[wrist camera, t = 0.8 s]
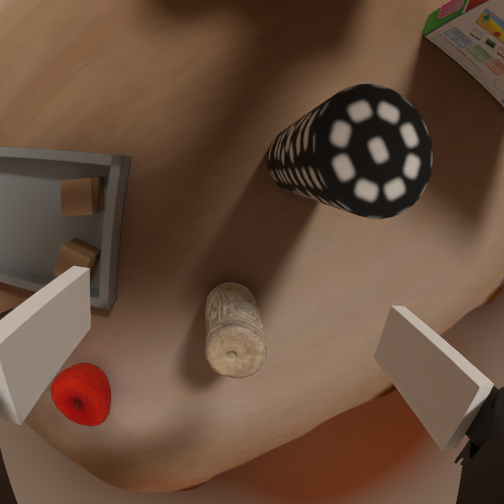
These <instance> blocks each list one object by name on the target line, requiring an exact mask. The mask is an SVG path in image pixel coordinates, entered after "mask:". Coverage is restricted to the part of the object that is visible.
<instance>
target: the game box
mask: <svg viewBox="0 0 504 504" xmlns="http://www.w3.org/2000/svg"><path fill="white" fill-rule="evenodd" d="M423 36H424V37H426V38H427V39H429V40H430V41H431V42H433V43H434V44H435V45H437V46H438V47H439V48H440V49H442V50H443V51H444V52H445V53H446V54H448V55H449V56H450V57H451V58H452V59H454V60H455V61H456V62H457V63H458V64H459V65H461V66H462V67H463V68H464V69H465V70H466V71H467V72H468V73H469V74H471V75H472V76H473V77H474V78H475V79H476V80H477V81H478V82H479V83H480V84H481V85H482V86H483V87H484V88H485V89H486V90H487V91H488V92H489V93H490V94H491V95H492V96H493V97H494V98H495V99H496V100H497V101H498V102H499V103H500V104H501V105H502V106H503V107H504V0H452V1H450V2H448V3H447V4H445V5H444V6H442V7H441V8H439V9H437V10H436V11H434V12H433V13H431V14H430V15H429V18H428V21H427V24H426V26H425V29H424V32H423Z"/></svg>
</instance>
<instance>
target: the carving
mask: <svg viewBox="0 0 504 504" xmlns="http://www.w3.org/2000/svg"><path fill="white" fill-rule="evenodd" d="M205 322H206V335H207V337H206V341H205V355H206V359H207V361H208V363H209V365H210V366H211V368H212V369H213V370H214V371H215V372H217V373H218V374H220V375H222V376H227V377H231V378H244V377H248V376H251V375H253V374H254V373H255V372H257V371H258V370H259V369H260V368H261V366H262V365H263V363H264V362H265V359H266V356H267V340H266V335H265V333H264V331H263V325H262V320H261V317H260V313H259V309H258V306H257V303H256V301H255V298H254V297H253V295H252V293H251V292H250V291H249V290H248V289H247V288H246V287H245V286H243V285H241V284H238V283H234V282H226V283H225V282H224V283H223V284H220V285H218V286H217V287H215V288H214V289H212V290H211V292H210V293H209V295H208V296H207V300H206V306H205Z"/></svg>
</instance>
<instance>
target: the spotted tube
mask: <svg viewBox="0 0 504 504" xmlns="http://www.w3.org/2000/svg"><path fill="white" fill-rule="evenodd" d="M432 163H433V151H432V144H431V139H430V136H429V132H428V129H427V127H426V125H425V123H424V121H423V119H422V117H421V115H420V114H419V113H418V111H417V110H416V109H415V107H414V106H413V105H412V104H411V103H410V102H409V101H408V100H407V99H405V98H404V97H403V96H401V95H400V94H398V93H397V92H395V91H393V90H391V89H389V88H386V87H384V86H379V85H374V84H359V85H355V86H351V87H348V88H346V89H344V90H342V91H340V92H338V93H337V94H335V95H334V96H332V97H331V98H329V99H328V100H326V101H325V102H323V103H322V104H320V105H319V106H318V107H316V108H315V109H313V110H312V111H310V112H309V113H307V114H306V115H305V116H303V117H302V118H300V119H299V120H298V121H296V122H295V123H293V124H292V125H291V126H289V127H288V128H286V129H285V130H284V131H282V132H281V133H280V134H279V135H278V136H277V137H276V138H275V139H274V140H273V142H272V143H271V146H270V148H269V152H268V168H269V171H270V174H271V176H272V178H273V179H274V181H275V182H276V183H277V184H278V185H279V186H280V187H281V188H283V189H284V190H285V191H288V192H290V193H292V194H295V195H299V196H302V197H305V198H308V199H311V200H314V201H317V202H320V203H323V204H326V205H329V206H332V207H335V208H338V209H341V210H344V211H347V212H350V213H353V214H356V215H359V216H363V217H367V218H372V219H384V218H389V217H394V216H396V215H398V214H400V213H403V212H404V211H406V210H407V209H408V208H410V207H411V206H412V205H413V204H414V203H415V202H416V201H417V200H418V199H419V198H420V197H421V195H422V193H423V192H424V190H425V188H426V186H427V184H428V181H429V178H430V175H431V169H432Z"/></svg>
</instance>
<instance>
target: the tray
mask: <svg viewBox="0 0 504 504" xmlns="http://www.w3.org/2000/svg"><path fill="white" fill-rule="evenodd" d="M130 162H131V157H126V156H118V155H109V154H99V153H88V152H77V151H64V150H50V149H34V148H12V147H0V282H2V283H5V284H9V285H12V286H16V287H19V288H23V289H26V290H30V291H34V292H38V291H39V290H40V289H42V288H43V287H45V286H46V285H47V284H49V283H50V282H52V281H53V280H54V279H56V278H57V277H58V276H56V275H54V273H55V269H56V265H57V261H58V257H59V253H60V249H61V246H62V244H64V243H66V242H68V241H70V240H72V239H74V238H78V239H80V240H82V241H84V242H86V243H88V244H90V245H92V246H94V247H97V248H99V249H101V256H100V259H99V262H98V266H97V269H96V272H95V275H94V278H93V279H92V280H91V281H90V306H94V307H98V308H103V309H107V310H108V309H109V308H110V306H111V305H112V304H113V303H114V301H115V300H116V299H117V278H118V263H119V250H120V239H121V229H122V219H123V211H124V203H125V195H126V188H127V181H128V174H129V168H130ZM94 177H104V200H105V210H104V211H101V212H98V213H95V214H93V215H74V216H62V209H61V187H60V181H61V180H71V179H81V178H94Z"/></svg>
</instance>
